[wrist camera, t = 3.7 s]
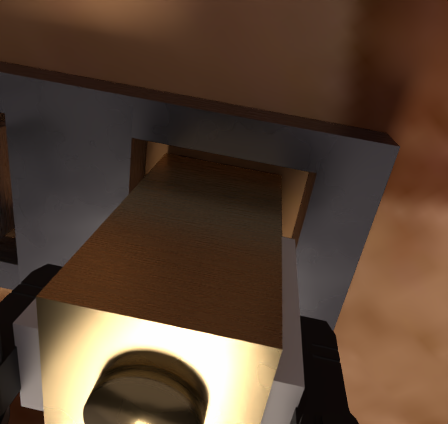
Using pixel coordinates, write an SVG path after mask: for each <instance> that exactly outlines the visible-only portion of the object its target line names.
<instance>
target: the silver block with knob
mask: <svg viewBox="0 0 448 424" xmlns="http://www.w3.org/2000/svg"><path fill="white" fill-rule="evenodd" d="M14 228H15V223H14V212H13V200H12V189H11V178H10V167H9V155H8V144H7V133H6V121H3V120H0V239H1V238H2V237H3V236H5V235H6V234H7V233H9V232H10V231H11V230H13V229H14Z"/></svg>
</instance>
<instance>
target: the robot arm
mask: <svg viewBox="0 0 448 424" xmlns="http://www.w3.org/2000/svg"><path fill="white" fill-rule="evenodd" d="M61 268H62V266H57V265H53V264H46V265H44V266H42V267H40V268H38V269H36V270H34V271H32V272H31V273H30V274H29V275H28V276H27V277H26V278H25V279H24V280H23V281H22V282H21V284H19V285H18V286H17V287H16V288H15V289H13V290H12V293H9V294H8V295H7V296H6V297H5V298H4V299H3V300H2V301H1V302H0V424H8V422H9V416H10V408H9V405H10V404H11V403H12V401H13V400H14V398H15V397H16V396H17V394H18V393H19V391H20V399H21V406H23V407H27V408H31V409H36V410H40V411H44V407H43V392H42V378H41V364H40V350H39V335H38V321H37V307H36V296H37V295H38V294H39V293H40V292H41V290H42V289H43V288H44V287H45V286H46V285H47V284H48V283H49V282H50V281H51V279H52V278H53V277H54V276H55V275H56V274H57V273H58V272H59V271H60V270H61ZM282 348H283V350H282V353H281V356H280V360H279V363H278V366H277V370H276V373H275V376H274V380H273V383H272V387H271V390H270V393H269V397H268V400H267V403H266V407H265V410H264V413H263V417H262V420H261V423H260V424H359V423H358V421H357V420H356V418H355V417H354V416H353V415H352V414H351V413H350V411H349V408H348V402H347V397H346V391H345V385H344V380H343V374H342V369H341V363H340V357H339V352H338V346H337V340H336V335H335V333H334V332H333V330H332V329H331V327H330V326H329V324H328V323H327V321H324V320H319V319H315V318H310V317H305V316H300V309H299V294H298V278H297V263H296V248H295V239H291V238H286V237H282Z"/></svg>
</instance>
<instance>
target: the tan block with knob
mask: <svg viewBox="0 0 448 424" xmlns="http://www.w3.org/2000/svg"><path fill="white" fill-rule="evenodd" d="M36 307H37V321H38V335H39V350H40V364H41V378H42V392H43V407H44V421H45V424H260V423H261V420H262V417H263V413H264V410H265V407H266V403H267V400H268V397H269V393H270V390H271V387H272V383H273V380H274V376H275V373H276V370H277V366H278V363H279V360H280V356H281V353H282V350H283V348H282V182H281V175H277V174H272V173H267V172H261V171H256V170H251V169H246V168H241V167H235V166H230V165H225V164H220V163H214V162H209V161H204V160H199V159H194V158H188V157H183V156H178V155H173V154H168V153H166V154H165V155H164V156H163V157H162V158H161V159H160V161H159V162H158V163H157V164H156V165H155V166H154V167H153V168H152V169H151V170H150V172H149V173H148V174H147V175H146V176H145V177H144V178H143V179H142V180H141V181H140V183H139V184H138V185H137V186H136V187H135V188H134V189H133V190H132V191H131V192H130V194H129V195H128V196H127V197H126V198H125V199H124V200H123V201H122V202H121V203H120V205H119V206H118V207H117V208H116V209H115V210H114V211H113V212H112V213H111V214H110V216H109V217H108V218H107V219H106V220H105V221H104V222H103V223H102V224H101V225H100V227H99V228H98V229H97V230H96V231H95V232H94V233H93V234H92V235H91V236H90V238H89V239H88V240H87V241H86V242H85V243H84V244H83V245H82V246H81V247H80V249H79V250H78V251H77V252H76V253H75V254H74V255H73V256H72V257H71V259H70V260H69V261H68V262H67V263H66V264H65V265H64V266H63V267H62V268H61V270H60V271H59V272H58V273H57V274H56V275H55V276H54V277H53V278H52V279H51V281H50V282H49V283H48V284H47V285H46V286H45V287H44V288H43V289H42V290H41V292H40V293H39V294H38V295H37V296H36Z"/></svg>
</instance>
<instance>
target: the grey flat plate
mask: <svg viewBox="0 0 448 424" xmlns="http://www.w3.org/2000/svg"><path fill="white" fill-rule="evenodd" d="M0 112H1V113H5V121H6V133H7V144H8V155H9V167H10V178H11V189H12V200H13V212H14V223H15V234H16V238H12V237H7V236H3V237H2V238H1V239H0V287H2V288H7V289H11V290H13V289H15V288H16V287H17V286H18V285H19V284H21V282H22V281H23V280H24V279H25V278H26V277H27V276H28V275H29V274H30V273H31V272H32V271H34V270H36V269H38V268H40V267H42V266H44V265H46V264H53V265H57V266H62V267H63V266H64V265H65V264H66V263H67V262H68V261H69V260H70V259H71V257H72V256H73V255H74V254H75V253H76V252H77V251H78V250H79V249H80V247H81V246H82V245H83V244H84V243H85V242H86V241H87V240H88V239H89V238H90V236H91V235H92V234H93V233H94V232H95V231H96V230H97V229H98V228H99V227H100V225H101V224H102V223H103V222H104V221H105V220H106V219H107V218H108V217H109V216H110V214H111V213H112V212H113V211H114V210H115V209H116V208H117V207H118V206H119V205H120V203H121V202H122V201H123V200H124V199H125V198H126V197H127V196H128V195H129V194H130V192H131V191H132V190H133V189H134V188H135V187H136V186H137V185H138V184H139V183H140V181H141V180H142V179H143V178H144V174H145V160H146V146H147V141H152V142H157V143H162V144H167V145H173V146H178V147H183V148H188V149H193V150H199V151H204V152H209V153H214V154H219V155H225V156H230V157H235V158H240V159H245V160H250V161H256V162H261V163H266V164H271V165H276V166H282V167H287V168H292V169H297V170H302V171H308V172H309V175H308V179H307V182H306V186H305V190H304V194H303V197H302V201H301V205H300V209H299V212H298V216H297V220H296V224H295V227H294V231H293V235H292V239H295V248H296V263H297V278H298V294H299V309H300V316H305V317H310V318H315V319H319V320H324V321H327V323H328V324H329V326H330V327H331V329H332V330H334V327H335V325H336V322H337V319H338V316H339V314H340V311H341V308H342V305H343V303H344V300H345V297H346V294H347V292H348V289H349V286H350V283H351V281H352V278H353V275H354V272H355V270H356V267H357V264H358V261H359V259H360V256H361V253H362V250H363V248H364V245H365V242H366V239H367V237H368V234H369V231H370V228H371V226H372V223H373V220H374V217H375V214H376V212H377V209H378V206H379V203H380V201H381V198H382V195H383V192H384V190H385V187H386V184H387V181H388V179H389V176H390V173H391V170H392V168H393V165H394V162H395V159H396V157H397V154H398V151H399V148H400V146H399V145H398V144H397V143H396V142H395V141H394V140H393V139H392V138H391V137H390V136H389V135H388V134H387V133H384V132H379V131H373V130H368V129H363V128H357V127H352V126H346V125H341V124H336V123H330V122H325V121H319V120H314V119H309V118H303V117H298V116H292V115H287V114H282V113H276V112H271V111H265V110H260V109H255V108H249V107H244V106H238V105H233V104H228V103H222V102H217V101H211V100H206V99H200V98H195V97H190V96H184V95H179V94H173V93H168V92H163V91H157V90H152V89H146V88H141V87H136V86H130V85H125V84H119V83H114V82H109V81H103V80H98V79H92V78H87V77H82V76H76V75H71V74H65V73H60V72H55V71H49V70H44V69H38V68H33V67H28V66H22V65H17V64H11V63H6V62H1V61H0Z"/></svg>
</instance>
